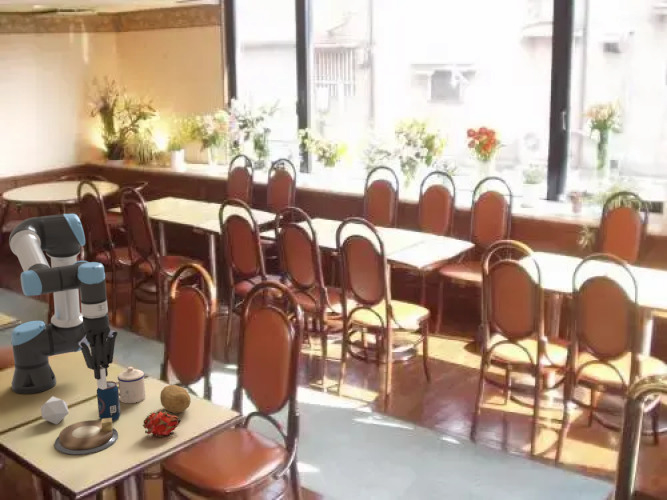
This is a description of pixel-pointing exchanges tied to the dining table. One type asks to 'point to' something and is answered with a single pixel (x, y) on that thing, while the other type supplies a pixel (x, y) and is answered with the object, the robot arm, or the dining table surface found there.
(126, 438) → the dining table surface
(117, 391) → the soda can
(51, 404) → the die
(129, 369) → the teacup with lid
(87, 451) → the turntable base
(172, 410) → the potato
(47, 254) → the robot arm
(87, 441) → the turntable
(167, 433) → the dragon fruit
